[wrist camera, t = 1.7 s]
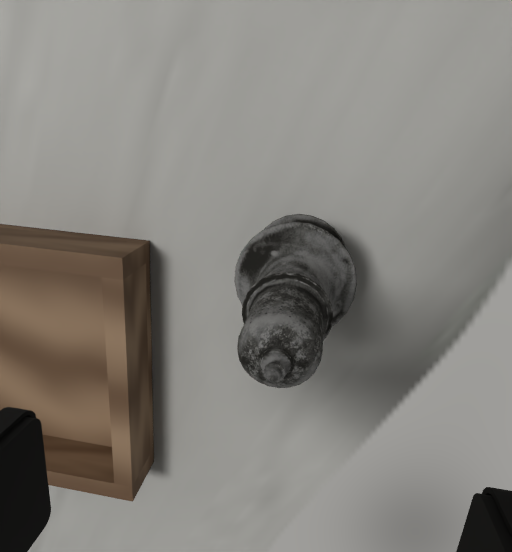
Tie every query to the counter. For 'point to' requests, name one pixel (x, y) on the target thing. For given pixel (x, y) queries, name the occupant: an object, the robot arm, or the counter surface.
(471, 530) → the robot arm
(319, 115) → the counter surface
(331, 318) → the dark grey rounded piece
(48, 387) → the tray
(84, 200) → the counter surface
